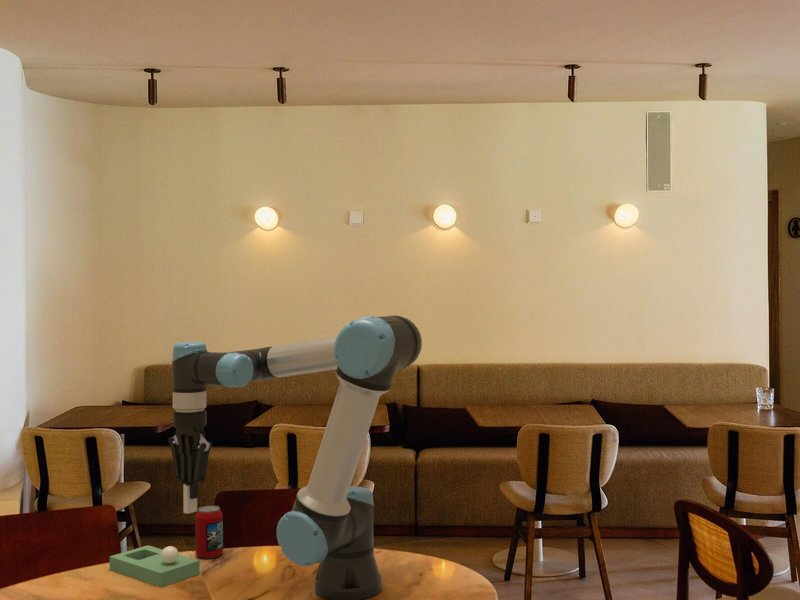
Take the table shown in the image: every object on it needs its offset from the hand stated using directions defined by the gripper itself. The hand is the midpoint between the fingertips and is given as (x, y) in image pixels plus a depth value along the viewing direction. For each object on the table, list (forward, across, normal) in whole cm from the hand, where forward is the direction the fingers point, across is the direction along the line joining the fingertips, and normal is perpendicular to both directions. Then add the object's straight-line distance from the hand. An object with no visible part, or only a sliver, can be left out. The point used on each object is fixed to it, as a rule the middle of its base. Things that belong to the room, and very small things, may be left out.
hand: (190, 511), depth 195 cm
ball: (+12, +8, 0) cm, 14 cm away
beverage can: (+17, +13, -16) cm, 27 cm away
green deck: (+17, +14, 0) cm, 22 cm away
